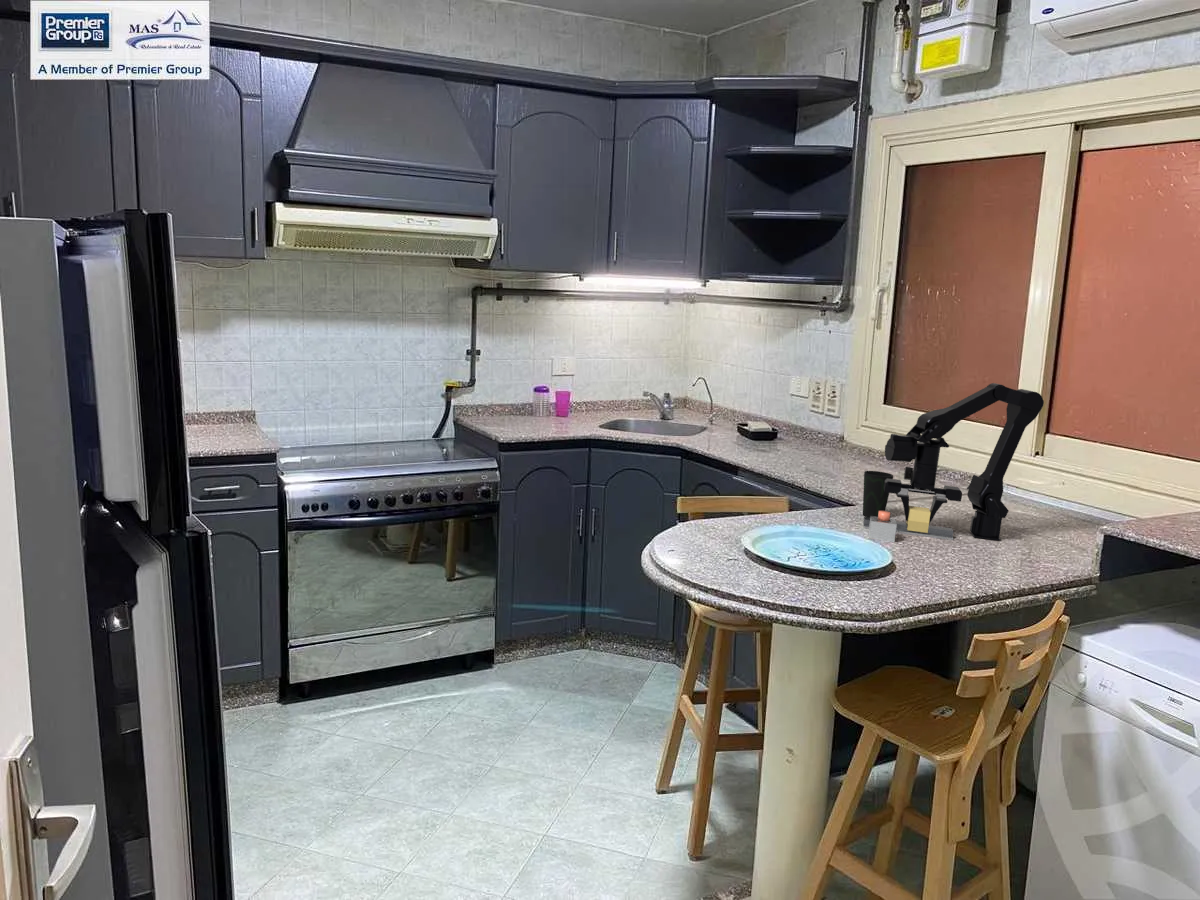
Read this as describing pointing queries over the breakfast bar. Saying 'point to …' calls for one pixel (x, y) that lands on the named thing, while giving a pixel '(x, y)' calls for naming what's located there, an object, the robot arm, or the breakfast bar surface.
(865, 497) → the cup
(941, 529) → the rail
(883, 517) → the button
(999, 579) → the breakfast bar surface
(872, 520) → the cabinet
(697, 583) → the breakfast bar surface
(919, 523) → the carriage
